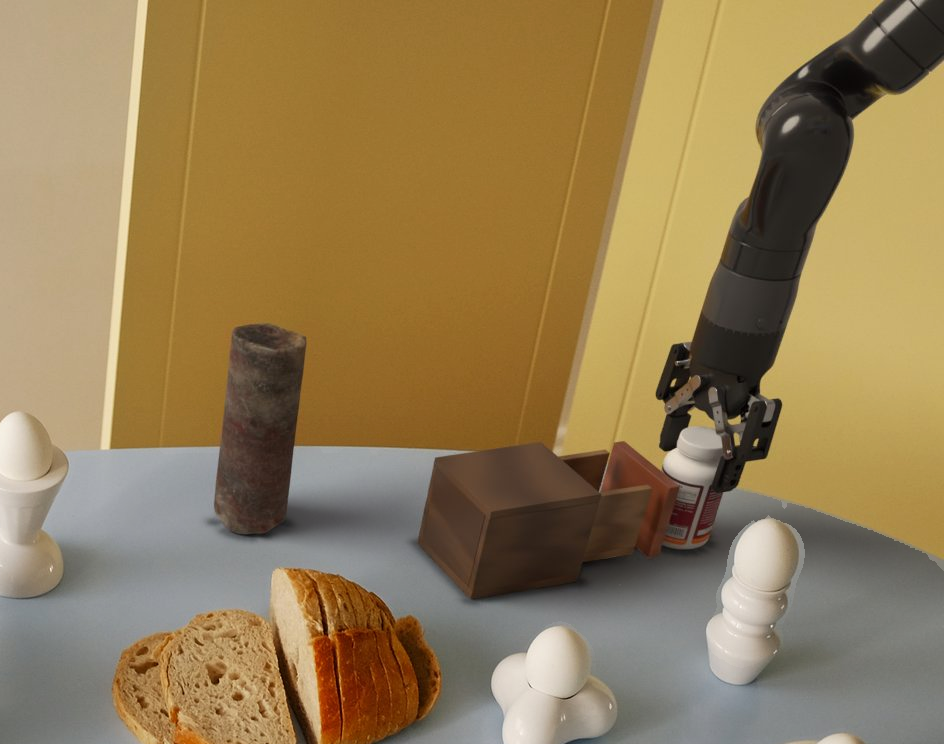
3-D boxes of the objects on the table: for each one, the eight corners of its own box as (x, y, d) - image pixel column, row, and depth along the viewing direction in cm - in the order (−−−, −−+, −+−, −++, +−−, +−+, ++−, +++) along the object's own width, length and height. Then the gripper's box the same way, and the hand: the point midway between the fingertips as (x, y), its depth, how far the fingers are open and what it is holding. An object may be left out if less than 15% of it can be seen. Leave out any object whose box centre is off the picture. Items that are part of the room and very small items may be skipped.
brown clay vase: (198, 506, 180) (218, 322, 168) (261, 493, 182) (286, 311, 170) (234, 542, 175) (258, 355, 162) (298, 529, 177) (327, 343, 164)
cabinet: (519, 526, 178) (541, 441, 172) (577, 581, 170) (601, 494, 164) (416, 543, 175) (434, 457, 169) (470, 599, 167) (491, 511, 161)
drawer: (615, 507, 179) (634, 439, 174) (669, 554, 172) (691, 484, 167) (513, 524, 176) (530, 454, 171) (564, 572, 169) (583, 501, 164)
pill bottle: (692, 519, 179) (724, 421, 172) (717, 551, 174) (751, 451, 167) (633, 520, 179) (662, 422, 172) (656, 553, 174) (688, 453, 167)
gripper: (830, 340, 157) (773, 500, 167) (732, 277, 167) (684, 431, 178) (759, 350, 155) (705, 510, 166) (664, 285, 166) (620, 440, 176)
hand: (694, 469), depth 172 cm, fingers open, 8 cm apart
